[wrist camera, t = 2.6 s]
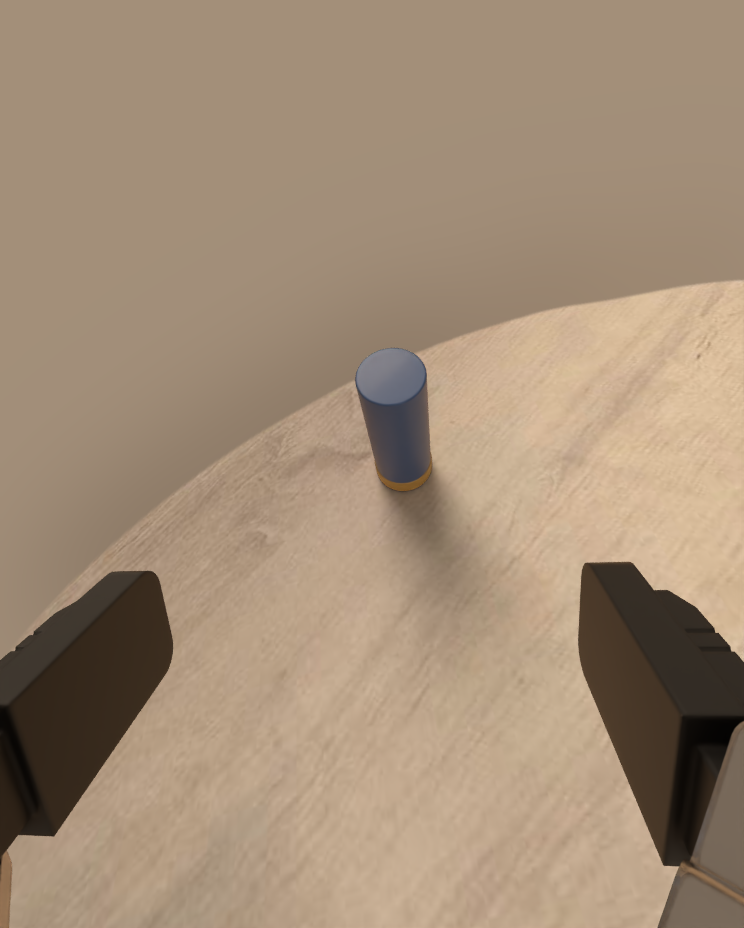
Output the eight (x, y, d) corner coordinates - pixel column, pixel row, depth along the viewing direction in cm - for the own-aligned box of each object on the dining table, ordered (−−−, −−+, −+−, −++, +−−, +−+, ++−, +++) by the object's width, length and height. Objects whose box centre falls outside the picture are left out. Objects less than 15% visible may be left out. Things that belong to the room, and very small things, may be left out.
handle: (365, 474, 29) (339, 385, 22) (397, 434, 30) (381, 336, 23) (411, 502, 28) (400, 418, 21) (442, 459, 29) (442, 364, 22)
